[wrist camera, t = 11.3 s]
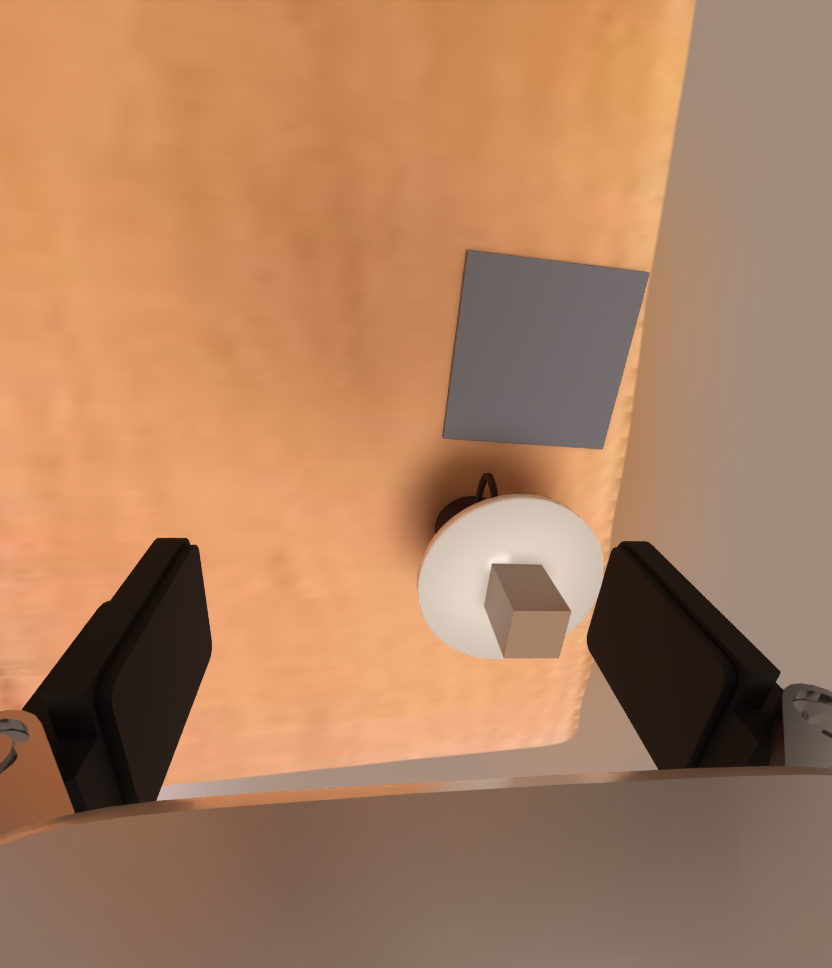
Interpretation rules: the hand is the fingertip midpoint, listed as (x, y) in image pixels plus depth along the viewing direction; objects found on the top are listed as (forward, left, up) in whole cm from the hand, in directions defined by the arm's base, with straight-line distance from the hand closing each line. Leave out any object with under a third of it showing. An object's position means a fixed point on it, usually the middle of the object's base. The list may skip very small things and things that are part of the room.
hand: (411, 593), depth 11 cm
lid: (+12, +10, -19) cm, 24 cm away
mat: (-2, +13, -29) cm, 31 cm away
